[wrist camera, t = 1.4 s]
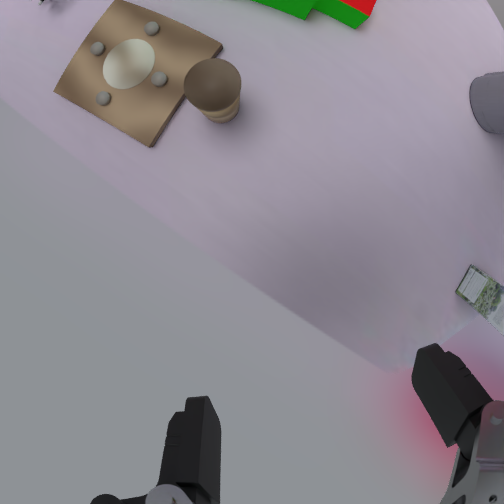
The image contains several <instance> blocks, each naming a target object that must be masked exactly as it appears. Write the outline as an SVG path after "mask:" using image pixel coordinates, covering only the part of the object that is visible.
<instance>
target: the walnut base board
mask: <svg viewBox="0 0 504 504" xmlns="http://www.w3.org/2000/svg"><path fill="white" fill-rule="evenodd" d="M222 49H223V46H222V44H221V43H220V42H218V41H216V40H214V39H212V38H210V37H208V36H206V35H204V34H202V33H200V32H198V31H196V30H194V29H192V28H190V27H188V26H186V25H184V24H181V23H179V22H177V21H175V20H172V19H170V18H168V17H165V16H163V15H161V14H158V13H156V12H153V11H151V10H148V9H146V8H143V7H140V6H138V5H135V4H132V3H129V2H126V1H123V0H115V1H114V2H113V3H112V4H111V5H110V7H109V8H108V9H107V10H106V11H105V13H104V14H103V15H102V17H101V18H100V19H99V20H98V22H97V23H96V24H95V26H94V27H93V28H92V30H91V31H90V33H89V34H88V35H87V37H86V38H85V40H84V41H83V43H82V44H81V46H80V47H79V49H78V50H77V52H76V53H75V55H74V56H73V58H72V60H71V61H70V63H69V64H68V66H67V68H66V69H65V71H64V73H63V75H62V76H61V78H60V80H59V82H58V83H57V85H56V87H55V89H54V91H53V92H55V93H57V94H59V95H61V96H62V97H64V98H66V99H68V100H69V101H71V102H73V103H75V104H76V105H78V106H80V107H82V108H83V109H85V110H87V111H89V112H90V113H92V114H94V115H95V116H97V117H99V118H101V119H102V120H104V121H106V122H107V123H109V124H111V125H112V126H114V127H116V128H118V129H119V130H121V131H123V132H124V133H126V134H128V135H129V136H131V137H133V138H134V139H136V140H137V141H139V142H141V143H142V144H144V145H146V146H147V147H153V146H154V144H155V142H156V141H157V139H158V138H159V136H160V134H161V133H162V131H163V130H164V128H165V127H166V125H167V123H168V122H169V120H170V119H171V117H172V116H173V114H174V113H175V111H176V110H177V108H178V107H179V106H180V104H181V103H182V101H183V100H184V98H185V97H186V95H185V93H184V79H185V76H186V74H187V73H188V71H189V70H190V69H191V68H192V67H193V66H194V65H195V64H196V63H198V62H200V61H202V60H205V59H211V58H215V57H216V56H217V55H218V54H219V52H220V51H221V50H222Z"/></svg>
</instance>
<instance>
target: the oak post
mask: <svg viewBox="0 0 504 504" xmlns="http://www.w3.org/2000/svg"><path fill="white" fill-rule="evenodd" d="M240 90H241V77H240V74H239V72H238V70H237V69H236V68H235V67H234V66H233V65H232V64H231V63H229V62H227V61H225V60H222V59H217V58H211V59H205V60H202V61H200V62H198V63H196V64H195V65H194V66H193V67H192V68H191V69H190V70H189V71H188V73H187V74H186V76H185V79H184V93H185V95H186V97H187V99H188V100H189V102H190V103H191V104H193V105H194V106H195V107H196V108H198V109H199V110H200V111H201V112H202V113H203V114H204V115H205V116H206V117H207V118H208V119H209V120H211V121H213V122H216V123H225V122H228V121H230V120H232V119H233V118H234V117H235V116H236V114H237V113H238V110H239V100H240Z"/></svg>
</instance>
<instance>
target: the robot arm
mask: <svg viewBox="0 0 504 504" xmlns="http://www.w3.org/2000/svg"><path fill="white" fill-rule="evenodd" d="M470 100H471V106H472V109H473V112H474V115H475V117H476V119H477V121H478V123H479V124H480V125H481V127H482V128H483V129H485V130H486V131H488V132H490V133H499V134H504V72H495V73H487V74H485V76H481V77H477V78H476V79H475V80H474V81H473V82H472V85H471V89H470ZM412 384H413V387H414V390H415V391H416V393H417V395H418V396H419V398H420V400H421V401H422V403H423V405H424V407H425V408H426V410H427V412H428V413H429V415H430V417H431V419H432V420H433V422H434V424H435V426H436V427H437V429H438V431H439V433H440V435H441V437H442V439H443V440H444V442H445V444H446V446H447V448H448V447H450V446H452V445H454V444H456V443H457V444H458V446H459V448H458V450H457V454H456V458H455V463H454V467H453V471H452V474H451V478H450V482H449V485H448V488H447V491H446V493H445V495H444V497H443V498H442V500H441V502H440V504H504V402H503V401H499V400H495V401H494V400H492V398H491V397H490V396H489V395H488V393H487V392H486V391H485V389H484V388H483V387H482V386H481V384H480V383H479V382H478V380H477V379H476V378H475V377H474V375H473V374H471V371H470V370H469V369H468V368H466V365H465V364H464V363H463V362H462V360H461V359H460V358H459V357H458V356H456V355H454V354H452V353H451V352H449V351H448V352H444V351H443V350H442V348H441V347H440V346H439V345H438V344H437V343H434V344H431V345H428V346H426V347H423V348H420V349H419V350H418V351H417V355H416V359H415V364H414V368H413V372H412ZM220 463H221V425H220V421H219V418H218V416H217V414H216V412H215V410H214V408H213V405H212V403H211V401H210V399H209V397H208V396H200V397H189V398H187V400H186V404H185V411H184V412H176V413H175V414H174V415H173V417H172V418H171V420H170V421H169V424H168V429H167V437H166V440H165V447H164V452H163V459H162V464H161V470H160V476H159V481H158V484H157V485H156V487H155V488H153V489H152V490H151V491H150V492H149V493H148V494H146V495H144V496H140V497H135V498H129V499H122V500H119V499H118V498H116V497H115V496H113V495H109V494H102V495H99V496H97V497H96V498H94V499H93V500H92V502H91V503H90V504H220Z"/></svg>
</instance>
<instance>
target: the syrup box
mask: <svg viewBox="0 0 504 504" xmlns="http://www.w3.org/2000/svg"><path fill="white" fill-rule="evenodd" d="M456 293H457V294H458V295H459V296H460V297H461V298H462V299H464V300H465V301H466V302H467V303H468V304H469V305H470V306H472V307H473V308H474V309H475V310H476V311H477V312H478V313H480V314H481V315H482V316H483V317H484V318H485V319H486V320H487V321H488V322H490V324H492V325H493V326H494V327H495V328H496V329H497V330H498V331H499V332H500V333H501V334H502V335H503V336H504V286H503V285H501V284H500V283H499V282H497V281H496V280H494V279H493V278H492V277H490V276H489V275H487V274H486V273H484V272H483V271H481V270H480V269H478V268H477V267H475V266H474V265H472V264H471V266H470V268H469V270H468V271H467V273H466V275H465V277H464V279H463V280H462V282H461V284H460V286H459V287H458V289H457V291H456Z"/></svg>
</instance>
